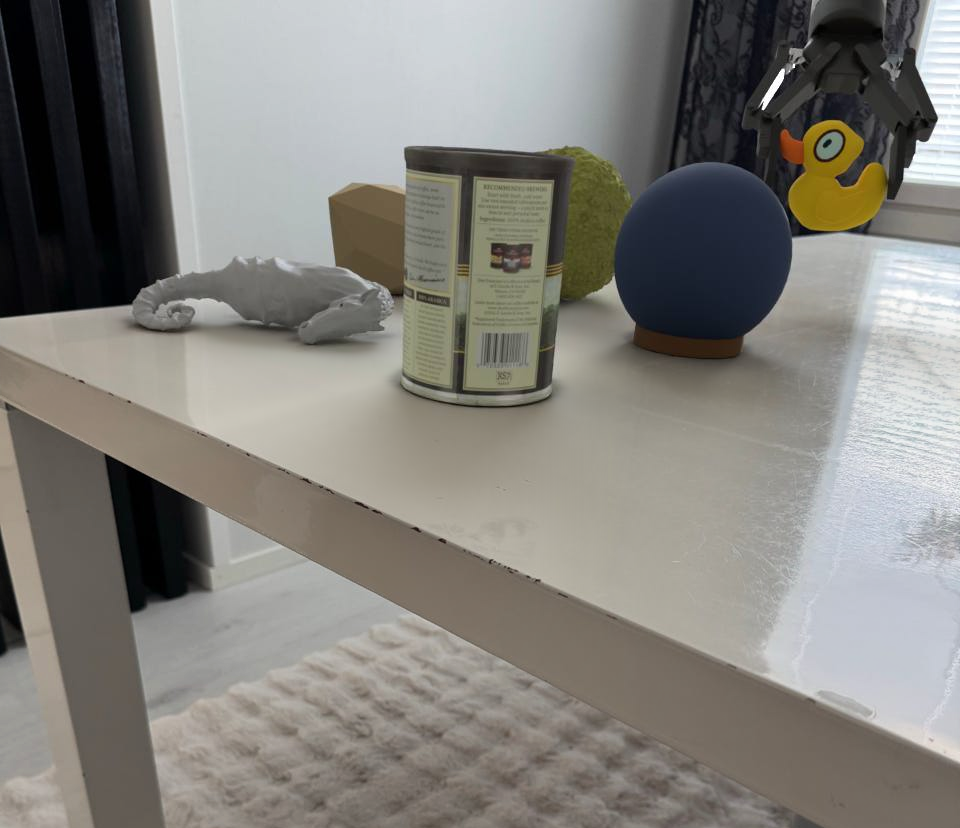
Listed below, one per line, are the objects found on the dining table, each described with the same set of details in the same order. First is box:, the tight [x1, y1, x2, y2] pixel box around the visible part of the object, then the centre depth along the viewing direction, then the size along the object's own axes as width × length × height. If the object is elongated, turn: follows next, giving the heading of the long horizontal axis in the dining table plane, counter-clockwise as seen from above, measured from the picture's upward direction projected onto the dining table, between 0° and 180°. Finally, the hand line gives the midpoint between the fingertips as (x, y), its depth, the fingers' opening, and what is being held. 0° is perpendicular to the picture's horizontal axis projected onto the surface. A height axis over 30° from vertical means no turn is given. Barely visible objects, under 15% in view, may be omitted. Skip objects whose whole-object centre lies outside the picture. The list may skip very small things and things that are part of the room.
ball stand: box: [614, 161, 793, 359], centre depth 77 cm, size 14×14×14 cm
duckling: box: [778, 119, 888, 232], centre depth 97 cm, size 11×5×10 cm, turn 81°
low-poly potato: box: [327, 182, 406, 295], centre depth 92 cm, size 15×11×12 cm
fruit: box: [535, 144, 634, 301], centre depth 95 cm, size 16×14×15 cm
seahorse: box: [131, 255, 395, 345], centre depth 74 cm, size 5×12×20 cm
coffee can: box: [400, 145, 575, 407], centre depth 61 cm, size 10×10×14 cm
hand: (831, 185), depth 95 cm, fingers closed on duckling, 11 cm apart
